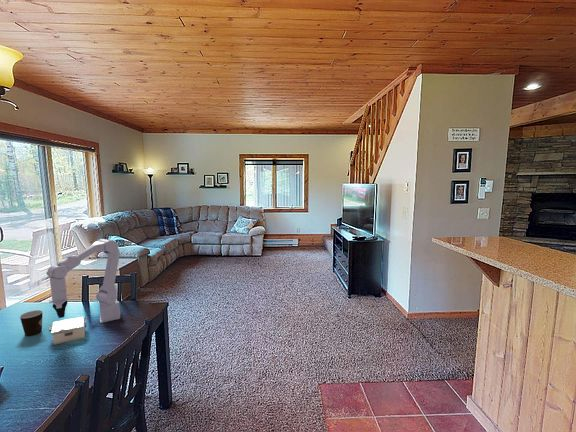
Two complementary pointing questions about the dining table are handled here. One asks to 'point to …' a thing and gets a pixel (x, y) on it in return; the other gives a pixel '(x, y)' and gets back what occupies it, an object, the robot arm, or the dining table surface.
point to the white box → (69, 335)
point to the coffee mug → (32, 322)
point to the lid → (67, 325)
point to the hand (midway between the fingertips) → (61, 317)
